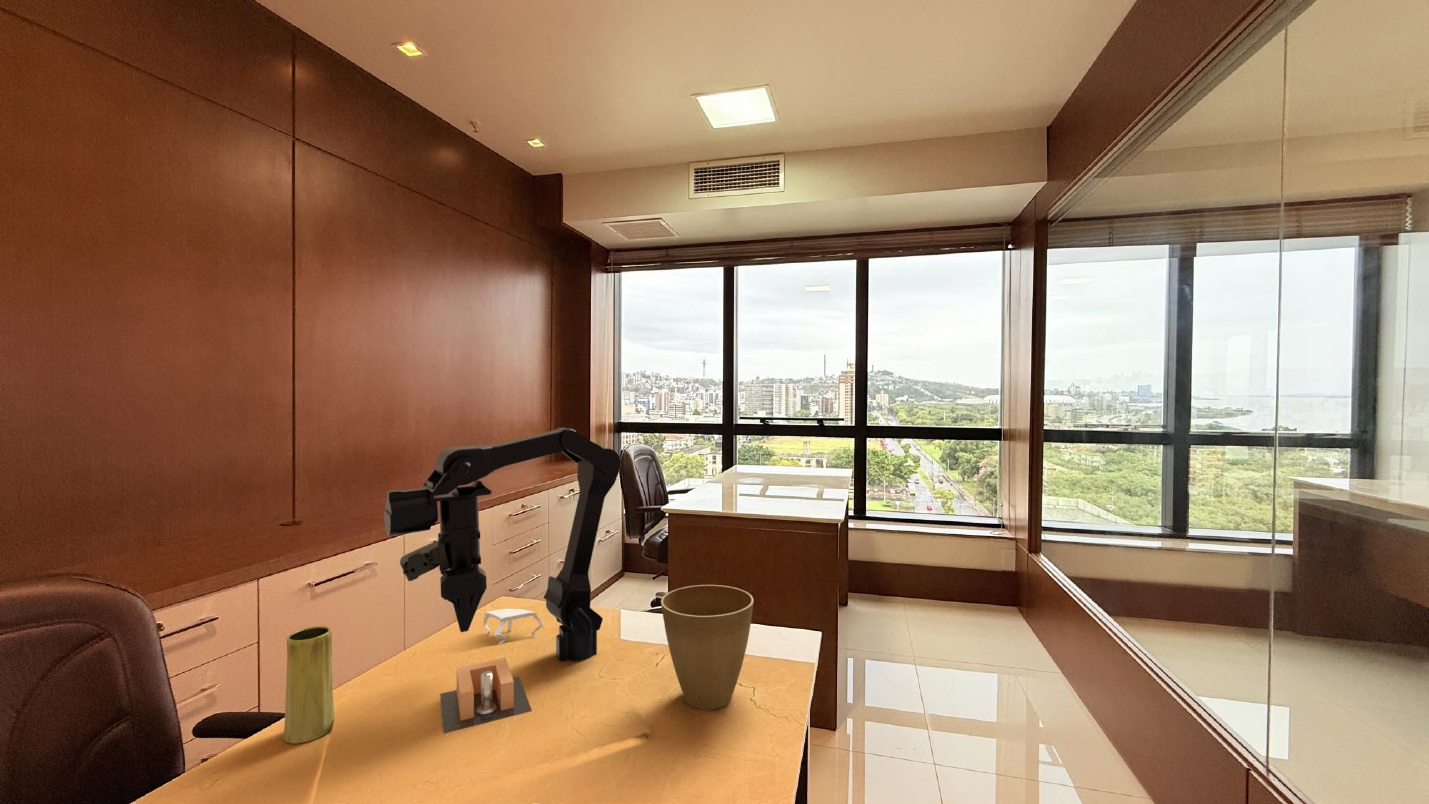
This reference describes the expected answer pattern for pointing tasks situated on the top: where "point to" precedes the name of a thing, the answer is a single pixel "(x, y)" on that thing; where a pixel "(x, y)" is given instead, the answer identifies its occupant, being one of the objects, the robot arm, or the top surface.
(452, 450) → the robot arm
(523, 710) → the peg stand
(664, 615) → the plant pot
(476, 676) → the c link
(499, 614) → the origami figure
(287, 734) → the vase
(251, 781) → the top surface
